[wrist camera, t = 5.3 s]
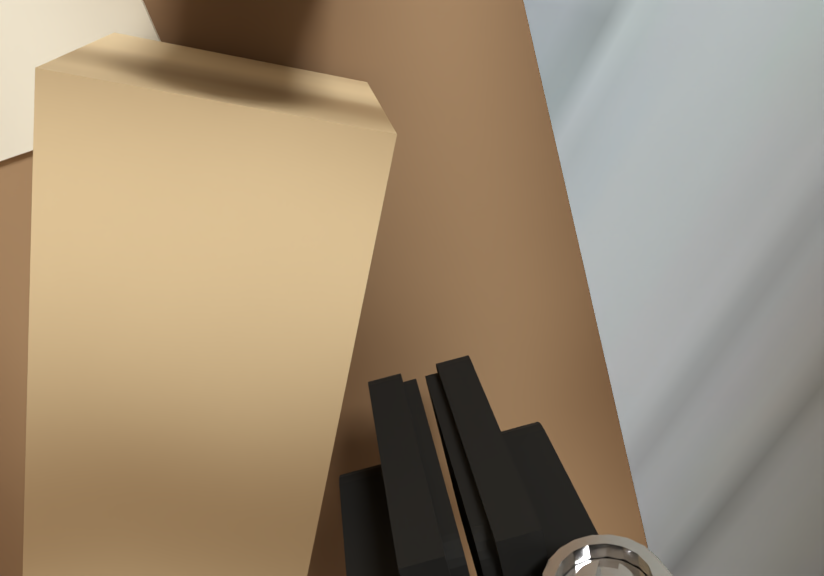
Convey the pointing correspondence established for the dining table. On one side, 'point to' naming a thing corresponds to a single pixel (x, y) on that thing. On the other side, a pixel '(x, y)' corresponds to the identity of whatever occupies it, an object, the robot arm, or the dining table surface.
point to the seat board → (397, 232)
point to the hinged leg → (191, 306)
